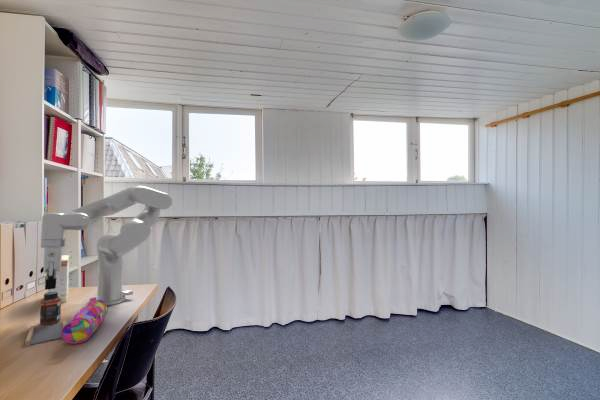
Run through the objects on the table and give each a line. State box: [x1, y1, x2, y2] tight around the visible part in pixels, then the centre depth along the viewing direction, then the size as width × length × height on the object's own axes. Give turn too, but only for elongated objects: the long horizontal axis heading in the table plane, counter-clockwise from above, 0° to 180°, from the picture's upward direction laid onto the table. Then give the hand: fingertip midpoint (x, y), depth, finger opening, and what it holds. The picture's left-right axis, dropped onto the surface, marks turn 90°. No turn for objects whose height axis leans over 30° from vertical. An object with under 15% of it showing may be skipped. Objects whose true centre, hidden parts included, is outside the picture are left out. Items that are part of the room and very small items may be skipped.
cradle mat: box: [24, 319, 68, 347], centre depth 100 cm, size 10×14×2 cm
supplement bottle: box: [39, 291, 62, 326], centre depth 109 cm, size 6×6×11 cm
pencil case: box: [61, 296, 108, 345], centre depth 103 cm, size 22×9×9 cm, turn 24°
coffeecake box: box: [47, 254, 70, 303], centre depth 135 cm, size 15×7×20 cm, turn 36°
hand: (50, 288), depth 115 cm, fingers closed
